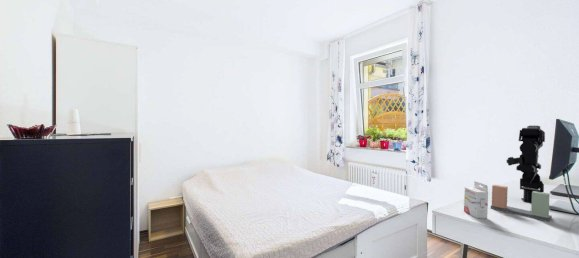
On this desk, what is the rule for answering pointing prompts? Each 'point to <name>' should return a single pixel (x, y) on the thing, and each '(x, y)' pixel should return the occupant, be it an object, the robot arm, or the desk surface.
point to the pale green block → (540, 204)
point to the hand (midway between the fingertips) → (528, 183)
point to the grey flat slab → (521, 212)
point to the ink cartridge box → (476, 200)
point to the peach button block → (499, 196)
